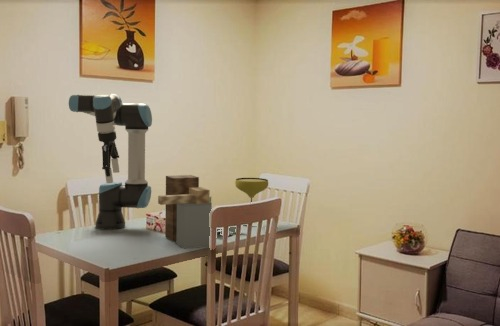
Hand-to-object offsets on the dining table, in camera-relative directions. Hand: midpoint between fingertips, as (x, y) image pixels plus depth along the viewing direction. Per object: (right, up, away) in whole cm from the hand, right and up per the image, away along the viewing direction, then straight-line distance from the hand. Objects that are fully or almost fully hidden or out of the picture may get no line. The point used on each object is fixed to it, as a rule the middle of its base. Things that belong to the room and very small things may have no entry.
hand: (113, 177), depth 242 cm
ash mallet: (+30, -12, +6) cm, 33 cm away
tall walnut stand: (+27, -30, +23) cm, 47 cm away
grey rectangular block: (+35, -31, +10) cm, 48 cm away
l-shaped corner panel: (+49, -30, +32) cm, 66 cm away
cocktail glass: (+61, -28, +58) cm, 89 cm away
